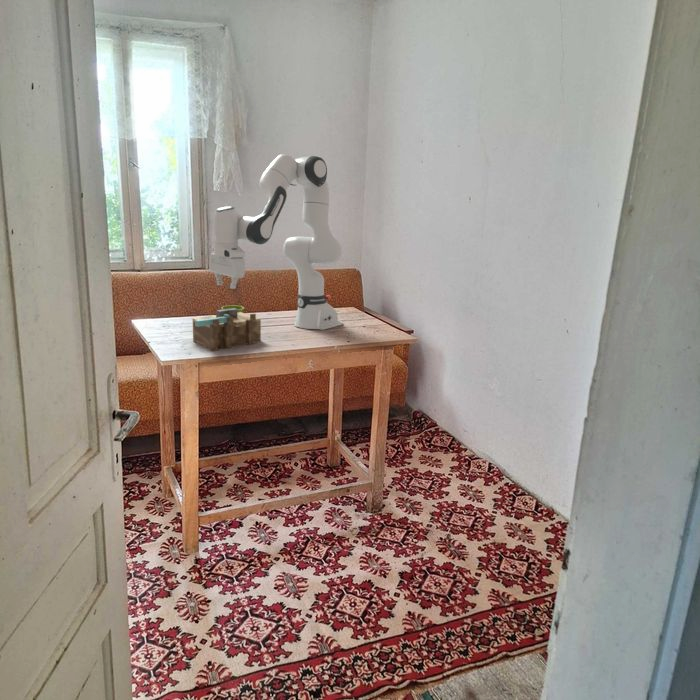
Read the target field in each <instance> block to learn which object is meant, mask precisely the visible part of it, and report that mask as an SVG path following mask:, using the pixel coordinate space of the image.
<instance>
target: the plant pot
mask: <svg viewBox="0 0 700 700" xmlns="http://www.w3.org/2000/svg"><path fill="white" fill-rule="evenodd" d="M231 308H235V309H237V313H239V312H242V313H244V309H245V307H244V306H242V305H232V304H231V305H224V306H221V310H223V309H231Z"/></svg>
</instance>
